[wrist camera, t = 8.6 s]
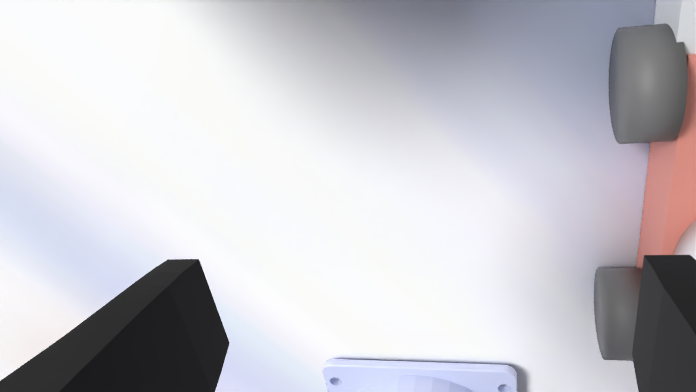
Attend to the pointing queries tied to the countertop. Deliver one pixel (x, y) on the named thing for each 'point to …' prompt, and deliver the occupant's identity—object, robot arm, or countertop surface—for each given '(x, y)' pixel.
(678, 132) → the toy car
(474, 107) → the countertop surface
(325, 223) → the countertop surface
